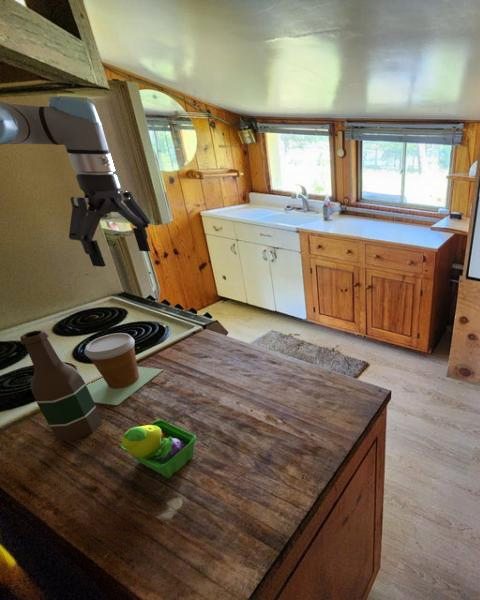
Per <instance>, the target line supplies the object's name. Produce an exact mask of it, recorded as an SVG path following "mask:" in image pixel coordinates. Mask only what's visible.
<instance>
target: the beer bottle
mask: <svg viewBox="0 0 480 600" xmlns="http://www.w3.org/2000/svg"><path fill="white" fill-rule="evenodd" d="M48 338H50V337H49V334H48V333H47V332H46V331H45V330H41V329H39V330H33V331H29V332H26V333H24V334H22V335H21V336H20V340H19V341H20V343H21V345H24V346H25V348H26V351H27V354H28V357H29V358H30V360H31V363H32V365H33V370H34V373H33V374H32V377H31V379H30V390H31V392H32V395H33V398H34V400H35V403H36V404H37V406H38V408H39V409H40V411H41V414H42V415H43V417H44V419H45V420H46V422H47V424H48V426H49V428H50V429H51V431H52V433H53V435H54V436H55V438H56V439H57V441H58V442H72V441H73V442H74V441H75V442H76V441H77V440H80V439H81V438H83V437H86V436H89V435H90V434H93V433H94V432H95V431H96V429H97V428H99V426H100V425H101V424H102V423H103V420H102V418H101V415H100V412H99V410H98V407H97V406H96V403H94V401H93V399H92V397H91V395H90V393H89V390H88V388H87V386H86V384H87V383H86V382H85V381H84V379H83V377H82V375H81V373H80V371H79V370H78V369H76V367H74V366H73V365H70V364H68V363H65V362H63V361H62V359H61V358H60V357H59V356H58V353H57V352H56V350H55V349H54V347H53V345H52V343H51V342H50V340H49V339H48Z"/></svg>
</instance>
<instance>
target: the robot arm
mask: <svg viewBox="0 0 480 600" xmlns="http://www.w3.org/2000/svg"><path fill="white" fill-rule="evenodd" d="M48 102H49V103H48V106H47V105H46V106H45V105H44V106H40V105H39V106H38V105H27V104H16V103H10V102H3V101H0V145H55V146H61V145H62V146H64V147H65V150H66V153H67V156H68V159H69V161H70V165H71V168H72V170H73V172H75V173H77V174H76V175H75V179H76V181H77V185H78V187H79V189H80V190H81V191H82V192H83V194H84V197H81V196H70V202H71V206H72V208H71V214H70V216H71V217H70V222H69V223H70V224H69V231H68V238H69V240H71V241H79V242H80V243H81V245H82V248H83V251H84V253H85V255H88V256H89V259H90V262H91V264H92V266H93V267H101V268H103V267H106V261H105V259H104V257H103V255H102V252H101V248H100V246H99V242H98V241H97V239H94V237H95V234H96V231H97V229H98V226H99V224H100V222H101V219H102V217H104V216H105V215H107V214H112V213H118V214H119V215H120V216H122V218H123V219H125V220H126V221H128V223H130V224H131V225H133V226H134V227H133V228H132V231H133V235H134V238H135V241H136V244H137V247H138V251H139V252H151V249H150V245H149V242H148V238H149V237H148V233H147V229H148V228H149V225H150V224H151V219H150V218H149V217H148V216H147V214H146V213H145V212H144V211H143V209H142V207H141V206H140V205H139V204H138V202H137V201H136V200H135V198H134V195H133V193H132V192H131V191H127V190H121V184H120V182H119V179H118V175H117V174H116V173H113V172H115V171H116V169H115V165H114V163H113V159H112V156H111V152H110V149H109V145H108V142H107V139H106V135H105V132H104V127H103V123H102V122H101V120H100V117H99V114H98V112H97V110H96V106H95V105H94V103H92V102H91V101H90V100H87V99H83V98H75V97H65V96H50V97H49V98H48Z"/></svg>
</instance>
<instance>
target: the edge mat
mask: <svg viewBox="0 0 480 600" xmlns="http://www.w3.org/2000/svg"><path fill="white" fill-rule="evenodd" d="M137 367H138V373H139V379H138V380H137V381H136V382H135V383H133V384H131V385H129V386H127V387H123V388H118V389H113V388H110V387H109V386H108V384H107V383H106V381H105V380H104V378H101V379H99V380H97V381H95V382H93V383H90V384H88V383H87V384H88V385H86V386H87V388H88V390H89V393H90V395H91V397H92V399H93V401H94V404H100V405H101V404H102V405H110V406H115V407H116V406H117V407H118V406H119V405H120V404H122V403H123V402H124V401H125V400H127V399H128V398H130V397H131V396H132V395H133V394H135V393H136V392H138V391H139V390H140V389H141V388H143V387H144V386H145V385H146V384H148V383H149V382H151V380H153V379H154V378H155V377H157V376H158V375H159V374H160V373H162V372H163V371H164V369H162V368H154V367H146V366H145V367H144V366H137Z"/></svg>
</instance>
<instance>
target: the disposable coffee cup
mask: <svg viewBox="0 0 480 600" xmlns="http://www.w3.org/2000/svg"><path fill="white" fill-rule="evenodd" d="M135 342H136V341H135V339H134V337H132V336H131V335H130V334H128V333H126V332H125V333H124V332H116V333H110V334H106V335H103V336H100V337H97V338H95V339H92V340H91V341H90V342H88V343H87V344H86V345H85V351H84V355H85V356H86V357H87V358H88V359H89V360H90V361H91V362H92V364H93V365H94V367H95V368H96V370H97V371H98V373H99V374H100V375H102V377H103V378H104V380H105V381H106V383H107V384H108V386H109V387H110V388H113V389H118V388H123V387H127V386H129V385H131V384H133V383H135V382H136V381H137V380H138V379H139V373H138V367H139V366H138V363H137V356H136V351H135Z"/></svg>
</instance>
